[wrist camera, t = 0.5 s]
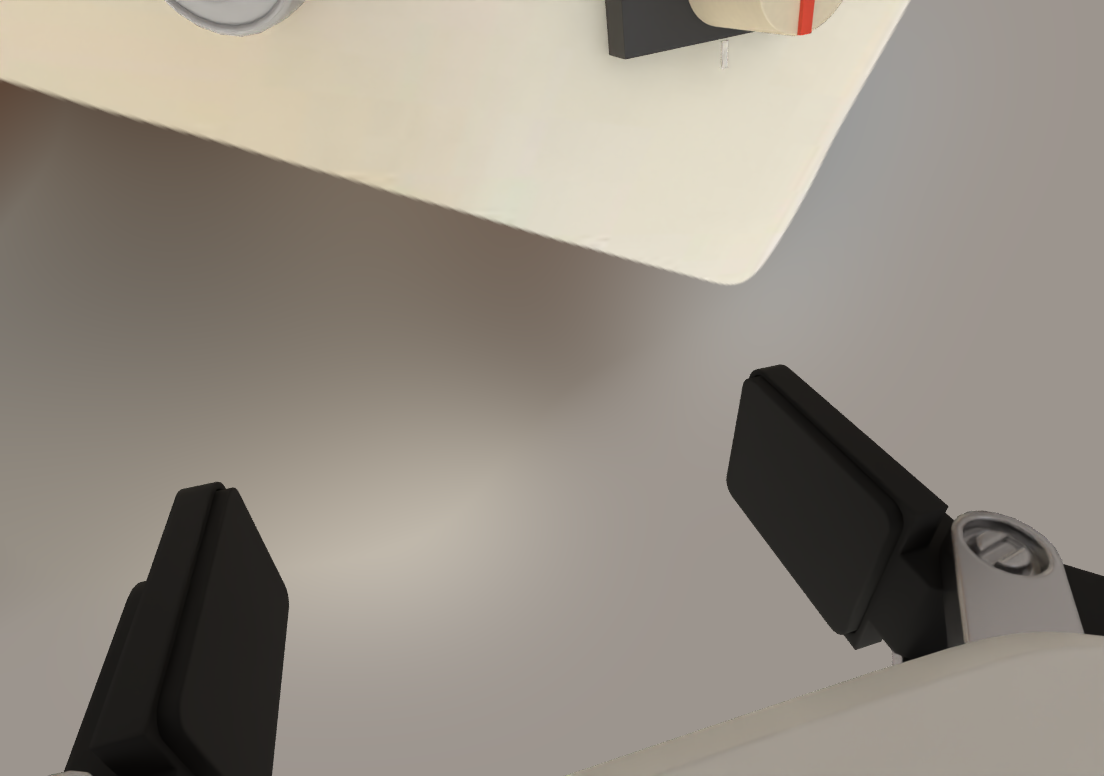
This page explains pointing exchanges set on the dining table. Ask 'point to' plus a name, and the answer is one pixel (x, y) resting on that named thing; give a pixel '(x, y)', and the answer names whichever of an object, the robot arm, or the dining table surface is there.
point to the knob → (766, 14)
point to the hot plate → (659, 28)
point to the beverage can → (235, 14)
